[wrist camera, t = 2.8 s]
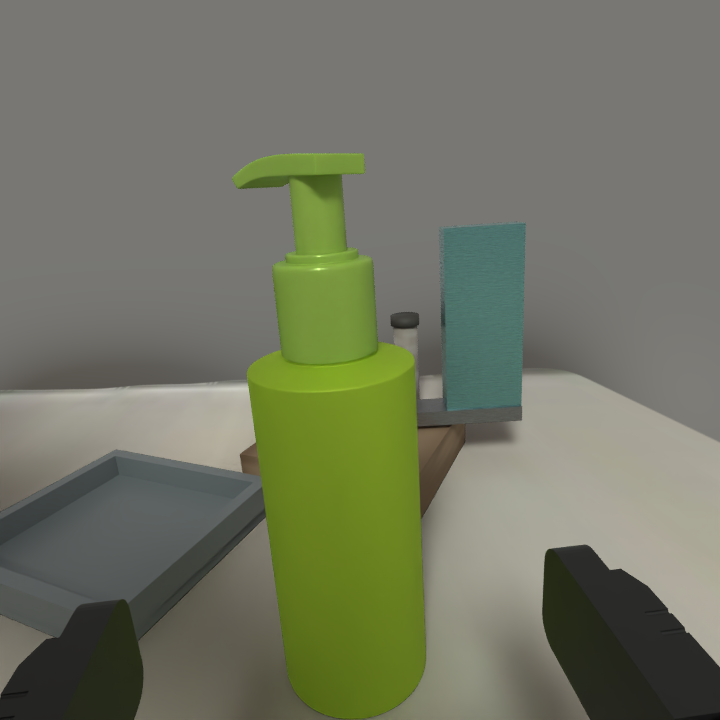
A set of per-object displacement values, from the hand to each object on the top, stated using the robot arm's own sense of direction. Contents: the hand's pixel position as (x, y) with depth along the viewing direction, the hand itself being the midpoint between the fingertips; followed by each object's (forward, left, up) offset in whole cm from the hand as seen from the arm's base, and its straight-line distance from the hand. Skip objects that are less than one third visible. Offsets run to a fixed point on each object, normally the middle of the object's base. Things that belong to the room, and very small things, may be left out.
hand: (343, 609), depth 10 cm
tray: (-21, +11, -11) cm, 26 cm away
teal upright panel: (-7, +25, -8) cm, 27 cm away
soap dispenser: (-5, +9, -11) cm, 15 cm away
